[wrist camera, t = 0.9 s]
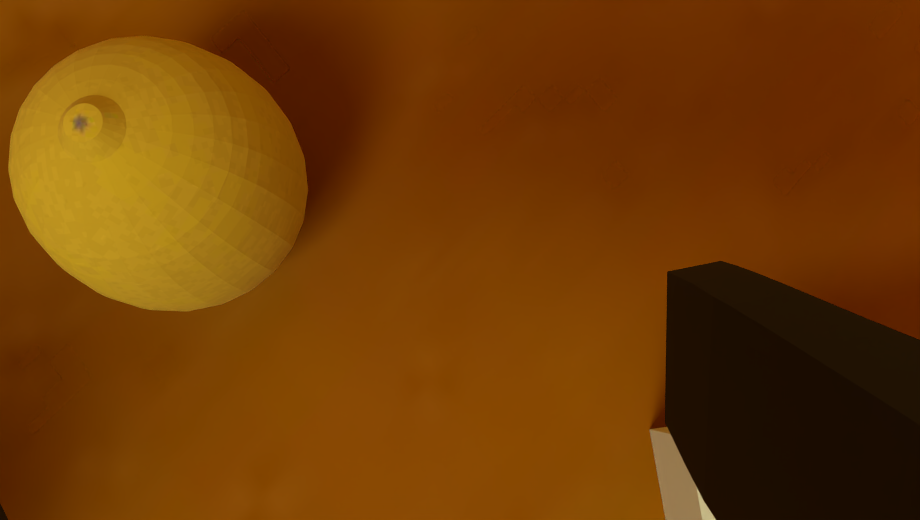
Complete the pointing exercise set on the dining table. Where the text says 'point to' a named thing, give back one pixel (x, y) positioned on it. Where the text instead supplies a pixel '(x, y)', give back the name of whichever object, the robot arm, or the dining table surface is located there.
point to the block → (676, 481)
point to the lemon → (158, 173)
